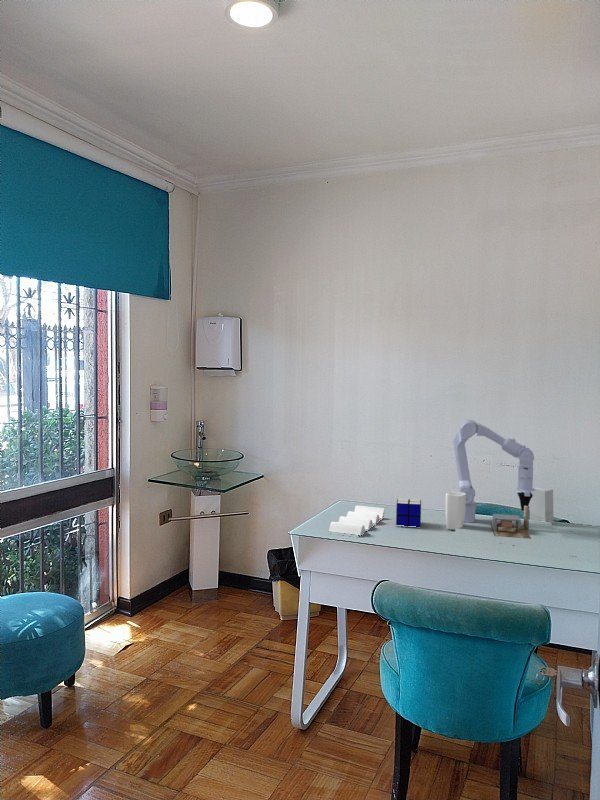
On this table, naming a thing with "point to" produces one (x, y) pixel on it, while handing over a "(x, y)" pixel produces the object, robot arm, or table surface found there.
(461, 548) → the table surface
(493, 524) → the tunnel
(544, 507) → the skincare box
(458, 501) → the cup
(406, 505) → the puzzle cube
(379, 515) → the white ridged rack
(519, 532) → the deck
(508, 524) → the block
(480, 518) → the table surface
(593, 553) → the table surface
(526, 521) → the slider
